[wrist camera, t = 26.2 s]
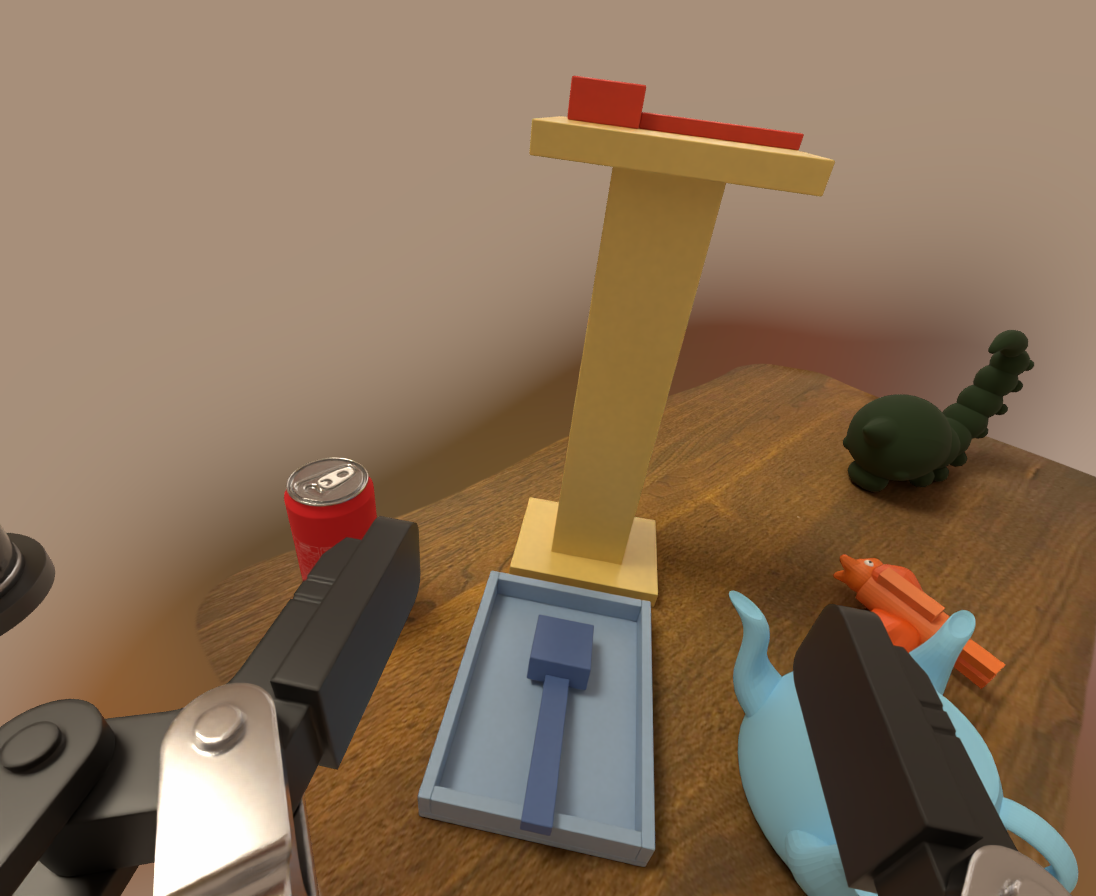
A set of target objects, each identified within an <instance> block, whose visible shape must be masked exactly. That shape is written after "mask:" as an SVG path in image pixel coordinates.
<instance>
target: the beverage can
mask: <svg viewBox="0 0 1096 896" xmlns="http://www.w3.org/2000/svg"><path fill="white" fill-rule="evenodd" d="M284 500H285V505H286V509H287V513H288V518H289V522H290V527H291V531H292V535H293V540H294V544H295V548H296V553H297V557H298V562H299V566H300V570H301V575H302V579H303V581H304V580H305V581H306V579H307V575H308V574H309V573H310V571H311V570H312V568H313V567H314V566H315V564H316V563H317V561H318V560H319V559H320V557H321V556H322V554H323V553H325V552H326V551H328V550H329V549H330V548H332V547H333V546H335V545H336V544H337V543H339V542H340V541H342V540H343V539H344V538H346V537H349V538H355V539H360V540H362V538H363V537H364V535H365V534H366V532H367V531H368V529H369V528H370V526H371V524H372V523H373V522H374V520H375V519H376V518H377V515H376V506H375V495H374V487H373V482H372V480H371V478H370V477H369V476H368V472H367V470H366V469H365V468H364V467H363V466H362V465H361V464H359V463H358V462H355V461H353V460H350V459H345V458H324V459H319V460H315V461H312V462H310V463H307V464H305V465H303V466H301V467H299V468H298V469H297V470H295V471H294V472H293V473H292V474H291V475H290V477H289V479H288V480H287V484H286V491H285V495H284Z"/></svg>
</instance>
